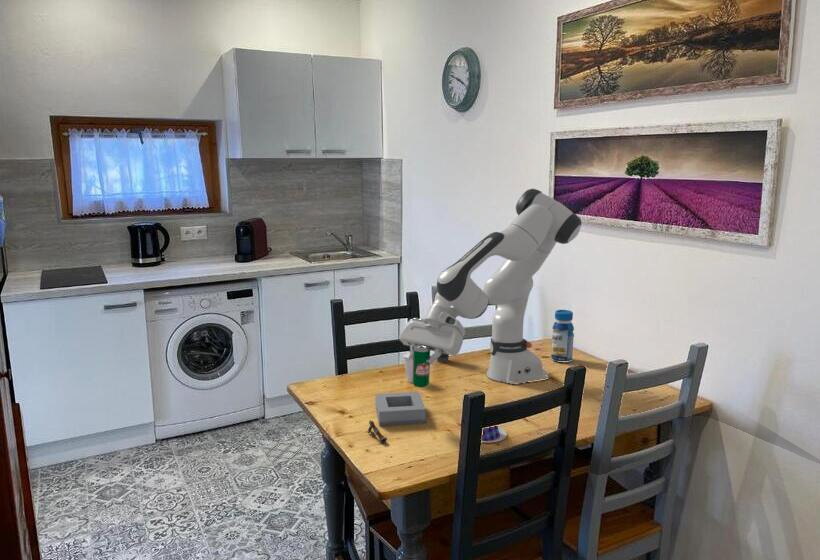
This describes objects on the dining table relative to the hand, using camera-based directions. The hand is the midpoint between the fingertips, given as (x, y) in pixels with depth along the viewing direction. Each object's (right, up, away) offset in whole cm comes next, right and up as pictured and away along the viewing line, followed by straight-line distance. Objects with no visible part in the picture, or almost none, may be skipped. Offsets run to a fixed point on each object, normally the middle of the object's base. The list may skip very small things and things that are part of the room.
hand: (420, 360), depth 179 cm
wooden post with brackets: (-13, -22, -7) cm, 26 cm away
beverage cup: (+10, -8, +59) cm, 61 cm away
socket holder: (-6, -18, +8) cm, 21 cm away
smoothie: (-2, -12, +38) cm, 40 cm away
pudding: (+19, -21, -5) cm, 29 cm away
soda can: (0, -8, +2) cm, 8 cm away
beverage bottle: (+57, -8, +60) cm, 83 cm away
